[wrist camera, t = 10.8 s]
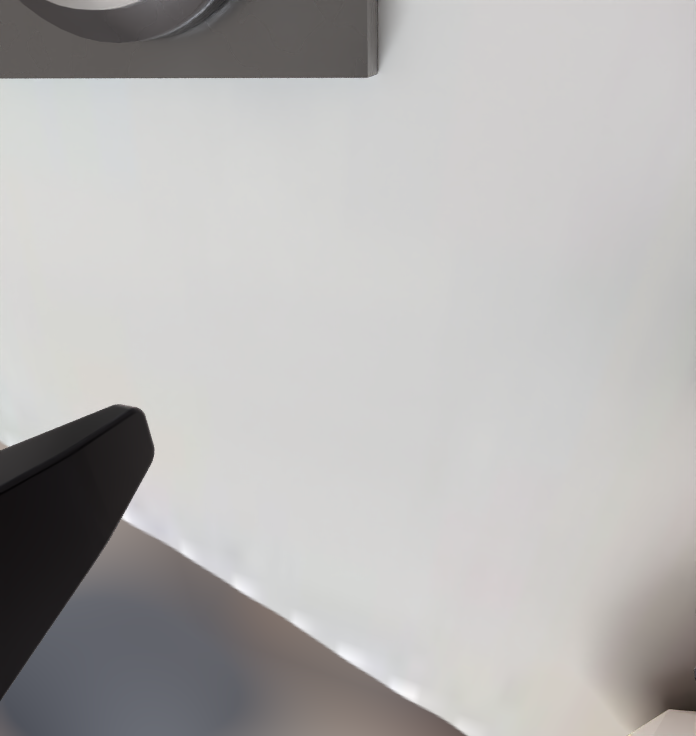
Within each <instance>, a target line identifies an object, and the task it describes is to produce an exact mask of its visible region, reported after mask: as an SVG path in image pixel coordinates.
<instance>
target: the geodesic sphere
mask: <svg viewBox="0 0 696 736" xmlns="http://www.w3.org/2000/svg"><path fill="white" fill-rule="evenodd" d="M627 736H696V711H684V710H672V709H668V710H667V711H665V712H664V713H662V714H660V715H659V716H657V717H656V718H654V719H652V720H651V721H649V722H648V723H646V724H645V725H643V726H641V727H640V728H638V729H637V730H635V731H633V732H632V733H630V734H629V735H627Z"/></svg>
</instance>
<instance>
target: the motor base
mask: <svg viewBox="0 0 696 736" xmlns="http://www.w3.org/2000/svg"><path fill="white" fill-rule="evenodd" d="M376 74H378V50H377V0H0V78H368V77H371V76H373V75H376Z"/></svg>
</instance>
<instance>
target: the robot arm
mask: <svg viewBox="0 0 696 736" xmlns="http://www.w3.org/2000/svg"><path fill="white" fill-rule="evenodd" d="M153 457H154V444H153V441H152V437H151V434H150V430H149V427H148V423H147V420H146V416H145V414H144V412H143V411H142V410H141V409H139V408H137V407H132V406H127V405H121V404H117V405H112V406H110V407H107V408H105V409H102V410H100V411H97V412H95V413H92V414H90V415H87V416H85V417H82V418H80V419H78V420H75V421H73V422H70V423H68V424H65V425H63V426H60V427H58V428H55V429H53V430H50V431H48V432H45V433H43V434H40V435H38V436H35V437H33V438H30V439H28V440H25V441H23V442H20V443H18V444H15V445H13V446H10V447H8V448H5V449H3V450H0V701H1V699H2V698H3V696H4V695H5V693H6V692H7V690H8V689H9V688H10V686H11V684H12V683H13V682H14V680H15V679H16V677H17V676H18V674H19V673H20V671H21V670H22V668H23V667H24V665H25V664H26V663H27V661H28V659H29V658H30V657H31V655H32V654H33V652H34V651H35V649H36V648H37V646H38V645H39V643H40V642H41V641H42V639H43V638H44V636H45V635H46V633H47V632H48V630H49V629H50V627H51V626H52V624H53V623H54V621H55V620H56V618H57V617H58V616H59V614H60V612H61V611H62V609H63V608H64V607H65V605H66V604H67V602H68V601H69V599H70V598H71V596H72V595H73V594H74V592H75V590H76V589H77V588H78V586H79V585H80V583H81V582H82V580H83V579H84V577H85V576H86V574H87V573H88V572H89V570H90V568H91V567H92V566H93V564H94V563H95V561H96V560H97V558H98V557H99V555H100V554H101V552H102V551H103V549H104V547H105V546H106V544H107V543H108V541H109V539H110V538H111V536H112V534H113V532H114V531H115V529H116V527H117V525H118V523H119V522H120V520H121V518H122V516H123V514H124V513H125V511H126V509H127V507H128V505H129V503H130V502H131V500H132V498H133V496H134V494H135V492H136V491H137V489H138V487H139V485H140V483H141V482H142V480H143V478H144V476H145V474H146V472H147V471H148V469H149V467H150V465H151V463H152V461H153ZM694 675H695V680H696V667H695V669H694Z"/></svg>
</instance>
